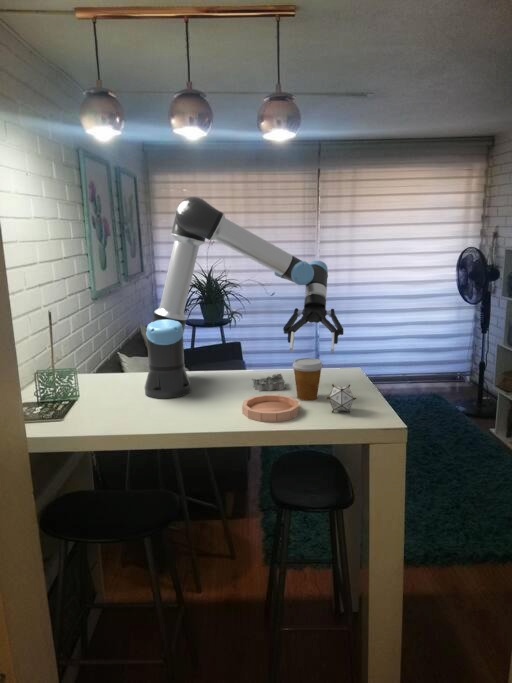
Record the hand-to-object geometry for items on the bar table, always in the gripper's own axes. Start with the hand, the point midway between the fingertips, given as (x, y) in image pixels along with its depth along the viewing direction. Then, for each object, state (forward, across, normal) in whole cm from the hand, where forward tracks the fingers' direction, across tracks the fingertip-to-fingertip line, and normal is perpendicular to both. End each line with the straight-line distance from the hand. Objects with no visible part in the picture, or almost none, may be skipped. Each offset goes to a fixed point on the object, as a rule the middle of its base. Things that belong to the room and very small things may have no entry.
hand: (311, 350), depth 168 cm
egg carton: (+10, +14, -9) cm, 20 cm away
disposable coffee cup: (+16, +1, -3) cm, 16 cm away
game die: (+24, -10, +5) cm, 26 cm away
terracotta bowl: (+26, +10, +7) cm, 29 cm away
